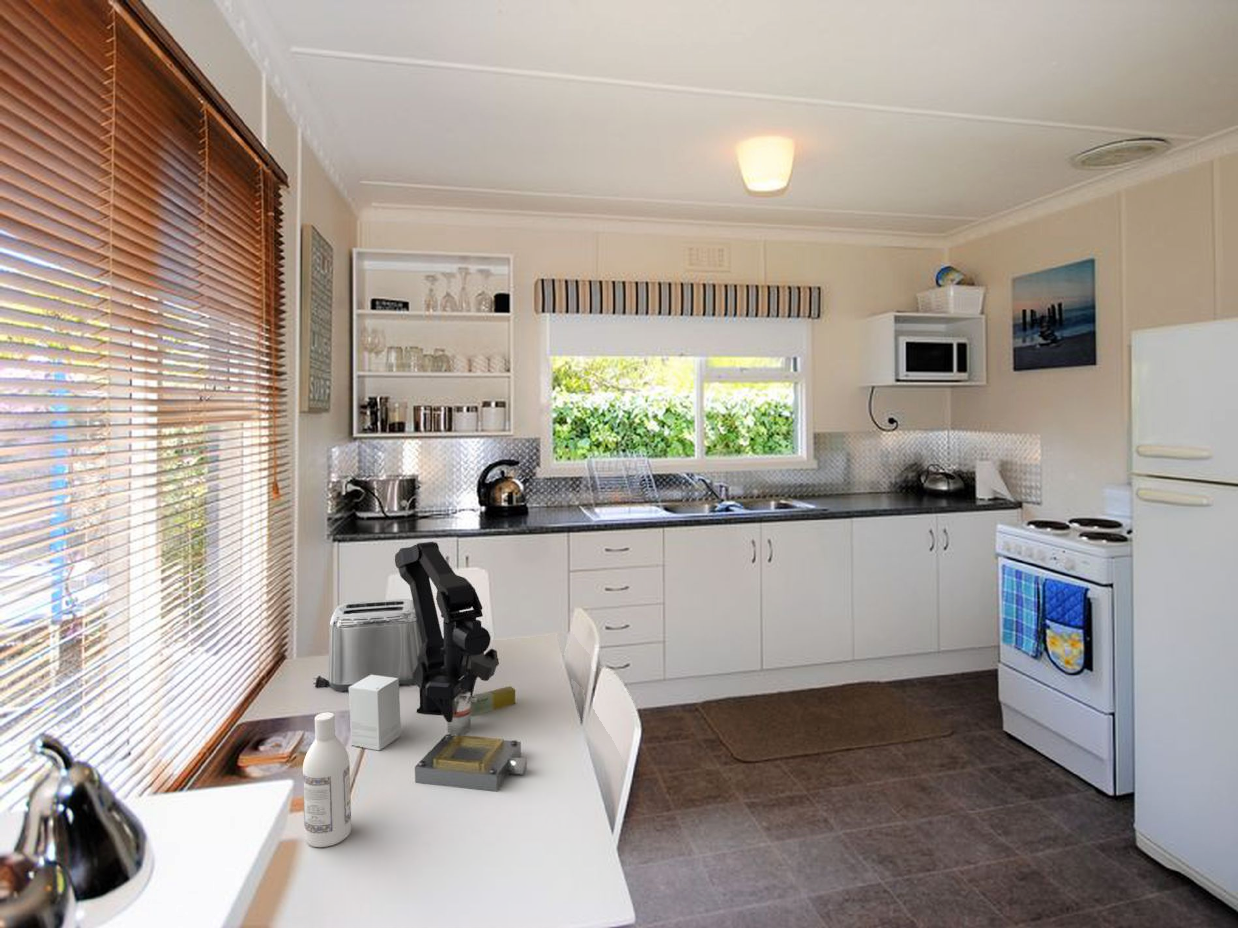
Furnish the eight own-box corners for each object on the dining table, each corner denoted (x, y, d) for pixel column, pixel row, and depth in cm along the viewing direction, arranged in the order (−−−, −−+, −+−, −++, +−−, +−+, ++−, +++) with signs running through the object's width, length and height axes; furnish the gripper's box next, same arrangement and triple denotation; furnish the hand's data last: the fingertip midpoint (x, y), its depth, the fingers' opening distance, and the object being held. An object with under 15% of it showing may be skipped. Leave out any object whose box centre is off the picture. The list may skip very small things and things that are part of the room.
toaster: (434, 685, 172) (433, 611, 171) (307, 697, 165) (305, 620, 164) (435, 662, 188) (434, 594, 187) (320, 672, 181) (317, 601, 180)
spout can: (443, 733, 146) (442, 697, 146) (453, 723, 151) (452, 688, 151) (472, 736, 145) (472, 700, 144) (482, 726, 150) (481, 690, 149)
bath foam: (338, 817, 116) (334, 702, 114) (359, 833, 111) (356, 714, 110) (297, 836, 111) (292, 716, 109) (317, 854, 106) (313, 729, 105)
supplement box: (402, 735, 146) (400, 677, 145) (379, 751, 139) (377, 690, 138) (373, 730, 148) (371, 673, 147) (349, 745, 141) (347, 686, 140)
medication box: (468, 718, 154) (468, 701, 154) (463, 713, 156) (463, 696, 156) (516, 705, 161) (516, 688, 161) (510, 700, 163) (510, 684, 163)
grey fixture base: (415, 782, 127) (414, 761, 127) (446, 748, 140) (445, 729, 139) (512, 793, 123) (512, 771, 123) (535, 757, 136) (535, 738, 136)
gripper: (475, 659, 136) (476, 735, 137) (508, 630, 154) (509, 697, 156) (423, 655, 138) (425, 730, 139) (462, 627, 157) (463, 693, 158)
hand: (458, 712), depth 148 cm, fingers open, 9 cm apart
